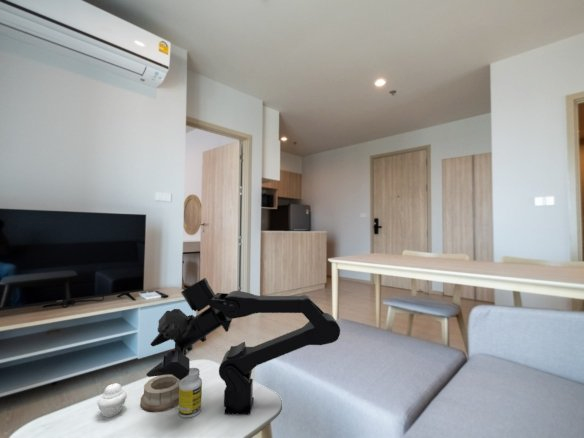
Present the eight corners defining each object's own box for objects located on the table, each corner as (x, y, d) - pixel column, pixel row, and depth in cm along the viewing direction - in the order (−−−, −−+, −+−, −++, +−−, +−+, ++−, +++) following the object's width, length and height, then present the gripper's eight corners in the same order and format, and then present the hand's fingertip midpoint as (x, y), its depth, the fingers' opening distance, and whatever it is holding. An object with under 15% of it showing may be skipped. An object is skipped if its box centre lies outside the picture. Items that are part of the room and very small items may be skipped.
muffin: (93, 414, 68) (94, 384, 68) (121, 402, 73) (122, 375, 73) (101, 425, 64) (102, 394, 64) (130, 412, 69) (131, 383, 69)
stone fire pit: (191, 387, 80) (192, 372, 80) (175, 412, 69) (175, 395, 69) (153, 387, 80) (154, 372, 80) (131, 411, 69) (131, 394, 69)
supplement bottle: (193, 420, 66) (194, 378, 66) (173, 417, 67) (174, 375, 67) (205, 406, 71) (206, 367, 72) (186, 403, 72) (187, 365, 73)
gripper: (182, 283, 75) (132, 316, 74) (182, 336, 59) (118, 378, 58) (207, 307, 81) (160, 337, 80) (212, 361, 65) (154, 399, 64)
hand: (149, 359), depth 70 cm, fingers open, 9 cm apart
